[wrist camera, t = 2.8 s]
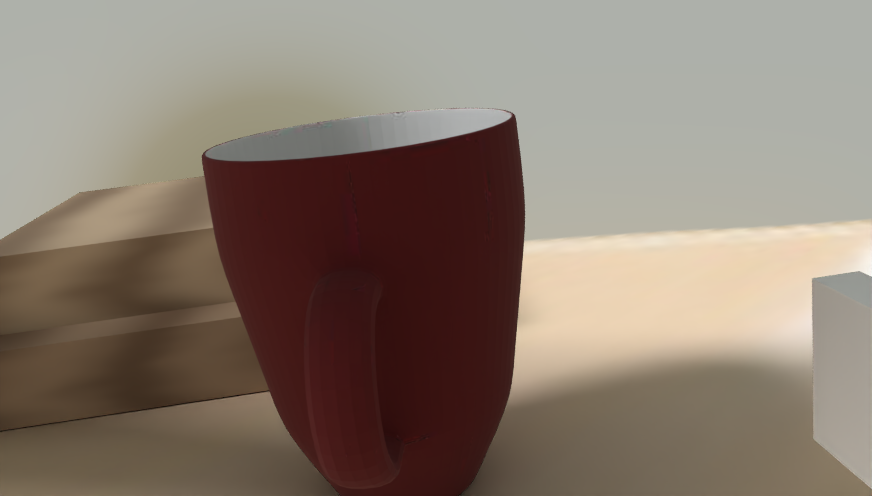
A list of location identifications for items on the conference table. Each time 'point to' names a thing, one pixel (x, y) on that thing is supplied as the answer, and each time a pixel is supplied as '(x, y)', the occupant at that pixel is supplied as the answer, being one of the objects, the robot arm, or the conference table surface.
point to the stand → (119, 308)
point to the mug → (379, 287)
